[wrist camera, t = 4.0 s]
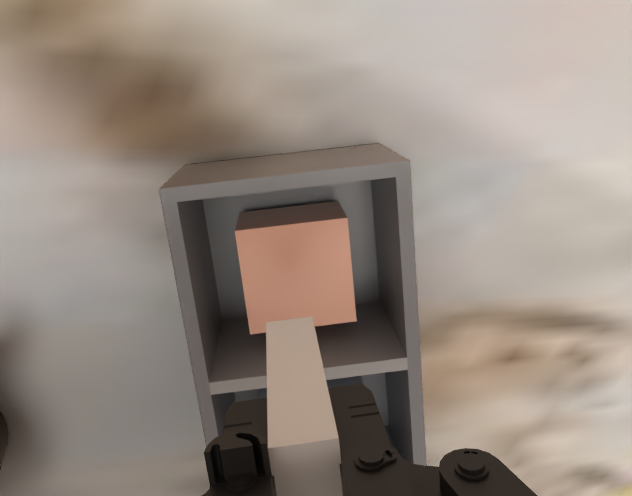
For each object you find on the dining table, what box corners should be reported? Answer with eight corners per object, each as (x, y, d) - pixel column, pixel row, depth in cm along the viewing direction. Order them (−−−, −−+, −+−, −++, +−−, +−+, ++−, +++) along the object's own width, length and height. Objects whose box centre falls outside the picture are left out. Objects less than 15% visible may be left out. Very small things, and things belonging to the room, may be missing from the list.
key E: (252, 304, 30) (250, 334, 26) (239, 212, 28) (234, 230, 25) (346, 293, 30) (356, 321, 26) (338, 200, 28) (347, 217, 25)
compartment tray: (269, 659, 38) (268, 779, 32) (185, 164, 29) (158, 188, 22) (413, 638, 39) (441, 751, 32) (379, 143, 29) (409, 160, 22)
